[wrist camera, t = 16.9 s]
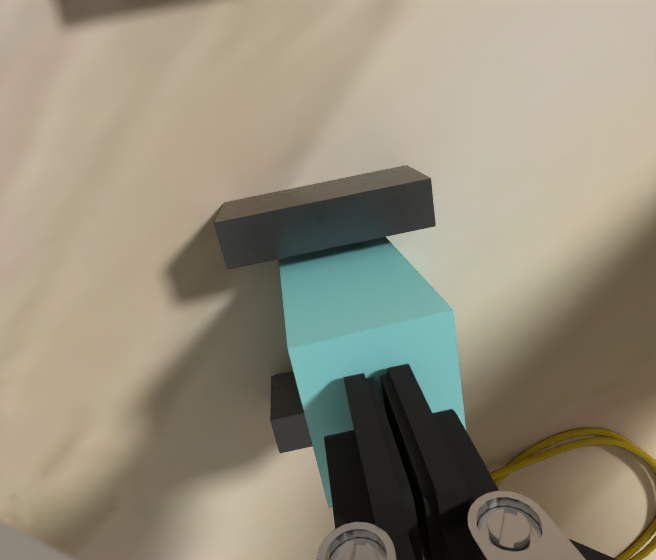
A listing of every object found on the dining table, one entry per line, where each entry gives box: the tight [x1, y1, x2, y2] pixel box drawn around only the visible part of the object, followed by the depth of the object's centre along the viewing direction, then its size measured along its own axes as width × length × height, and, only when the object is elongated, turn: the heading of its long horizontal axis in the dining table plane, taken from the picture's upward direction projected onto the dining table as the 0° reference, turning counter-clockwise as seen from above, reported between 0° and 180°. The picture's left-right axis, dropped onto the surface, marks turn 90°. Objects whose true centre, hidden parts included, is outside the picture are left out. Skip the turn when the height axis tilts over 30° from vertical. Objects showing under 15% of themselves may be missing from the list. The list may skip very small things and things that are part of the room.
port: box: [214, 165, 436, 453], centre depth 18 cm, size 7×9×3 cm
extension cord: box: [422, 428, 656, 560], centre depth 25 cm, size 12×16×2 cm
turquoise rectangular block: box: [279, 237, 466, 508], centre depth 16 cm, size 4×5×8 cm
